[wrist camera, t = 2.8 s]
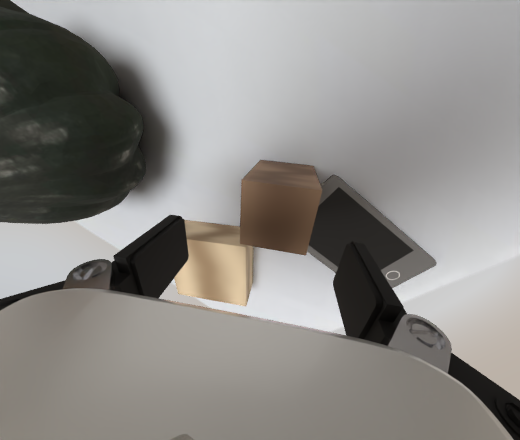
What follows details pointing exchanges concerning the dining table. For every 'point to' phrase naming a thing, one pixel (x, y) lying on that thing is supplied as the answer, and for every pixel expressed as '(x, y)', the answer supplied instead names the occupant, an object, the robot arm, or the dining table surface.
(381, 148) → the dining table surface
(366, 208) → the smartphone
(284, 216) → the walnut block
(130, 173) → the squash
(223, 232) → the oak base block
